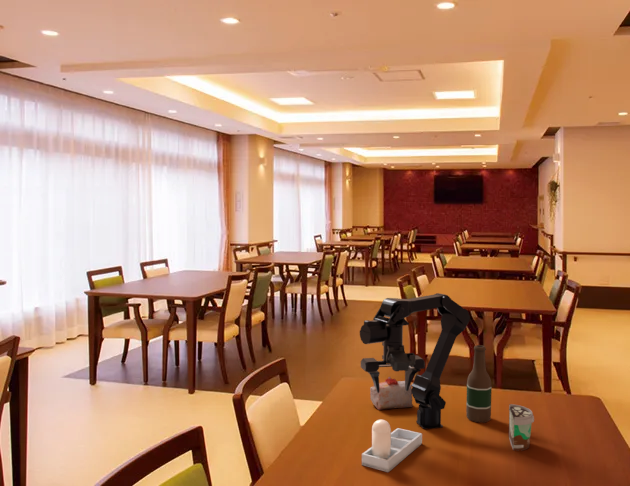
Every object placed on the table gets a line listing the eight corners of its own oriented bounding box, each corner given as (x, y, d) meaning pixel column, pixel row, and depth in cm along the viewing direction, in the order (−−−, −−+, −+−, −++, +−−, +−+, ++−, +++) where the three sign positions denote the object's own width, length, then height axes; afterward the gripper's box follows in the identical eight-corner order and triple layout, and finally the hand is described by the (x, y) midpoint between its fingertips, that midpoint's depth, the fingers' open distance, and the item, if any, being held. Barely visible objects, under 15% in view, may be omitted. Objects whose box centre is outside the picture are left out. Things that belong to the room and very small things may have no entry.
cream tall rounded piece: (382, 454, 159) (382, 415, 159) (394, 461, 155) (394, 421, 154) (368, 459, 157) (368, 419, 156) (379, 465, 152) (379, 424, 152)
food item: (376, 411, 196) (376, 382, 195) (368, 404, 204) (369, 376, 203) (414, 408, 199) (414, 380, 198) (405, 401, 206) (405, 374, 206)
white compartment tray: (397, 437, 173) (397, 427, 173) (422, 443, 169) (422, 433, 169) (361, 465, 155) (361, 454, 155) (388, 472, 150) (388, 461, 150)
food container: (537, 454, 162) (538, 419, 161) (513, 452, 163) (514, 417, 162) (529, 437, 174) (530, 404, 173) (508, 435, 175) (509, 403, 174)
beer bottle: (464, 421, 187) (466, 347, 186) (467, 413, 194) (469, 342, 193) (489, 424, 184) (491, 349, 183) (491, 416, 192) (493, 344, 190)
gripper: (371, 348, 165) (371, 402, 166) (433, 345, 169) (432, 397, 170) (360, 339, 176) (359, 390, 177) (418, 336, 180) (417, 386, 181)
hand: (392, 391), depth 176 cm, fingers open, 9 cm apart
